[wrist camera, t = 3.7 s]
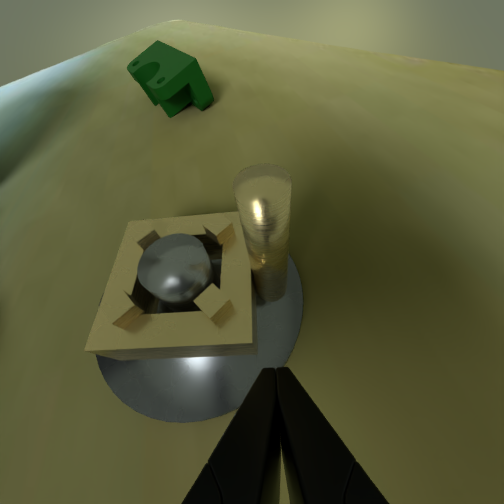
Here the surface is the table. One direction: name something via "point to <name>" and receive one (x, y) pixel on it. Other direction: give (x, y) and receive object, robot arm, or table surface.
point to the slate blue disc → (200, 368)
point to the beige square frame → (212, 299)
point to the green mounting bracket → (171, 78)
